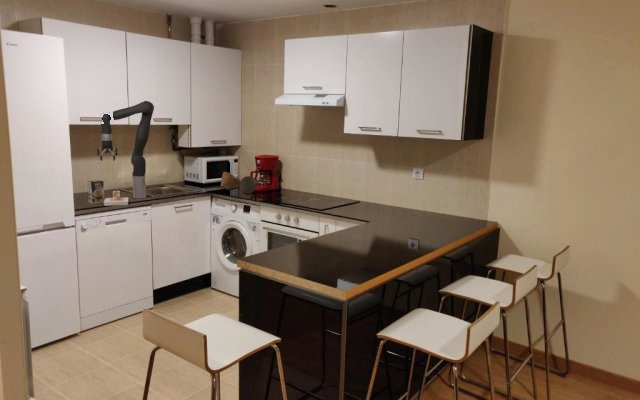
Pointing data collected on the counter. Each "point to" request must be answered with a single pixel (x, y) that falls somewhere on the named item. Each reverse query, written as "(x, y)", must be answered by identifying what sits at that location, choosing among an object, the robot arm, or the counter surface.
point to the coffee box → (95, 192)
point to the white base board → (115, 201)
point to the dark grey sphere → (248, 184)
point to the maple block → (116, 195)
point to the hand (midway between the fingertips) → (107, 160)
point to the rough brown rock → (229, 181)
